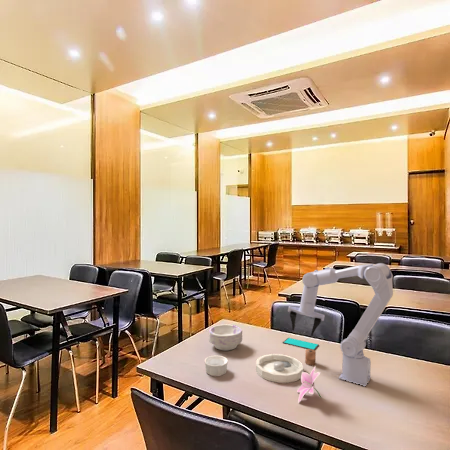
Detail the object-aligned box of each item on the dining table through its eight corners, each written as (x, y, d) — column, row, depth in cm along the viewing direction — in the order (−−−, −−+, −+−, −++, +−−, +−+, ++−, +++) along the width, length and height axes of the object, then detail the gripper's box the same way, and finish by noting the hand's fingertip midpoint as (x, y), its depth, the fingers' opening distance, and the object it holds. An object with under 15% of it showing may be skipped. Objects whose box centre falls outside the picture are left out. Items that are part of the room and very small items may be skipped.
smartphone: (288, 337, 156) (318, 344, 148) (288, 339, 156) (318, 346, 148) (282, 342, 150) (314, 349, 142) (282, 344, 150) (314, 351, 142)
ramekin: (225, 378, 117) (225, 366, 116) (201, 375, 118) (201, 364, 118) (229, 367, 125) (229, 356, 125) (207, 365, 127) (207, 354, 127)
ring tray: (309, 369, 124) (309, 362, 124) (290, 388, 110) (290, 380, 110) (269, 356, 135) (269, 350, 135) (247, 372, 121) (247, 365, 121)
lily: (304, 386, 113) (292, 364, 112) (336, 383, 107) (323, 359, 106) (297, 414, 103) (283, 390, 102) (331, 412, 97) (317, 386, 96)
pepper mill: (316, 362, 130) (317, 350, 130) (313, 366, 127) (313, 353, 127) (307, 360, 132) (307, 348, 132) (303, 363, 129) (303, 351, 129)
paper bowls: (203, 343, 149) (204, 326, 149) (233, 338, 155) (233, 322, 155) (216, 356, 135) (217, 337, 135) (248, 350, 142) (248, 332, 141)
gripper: (327, 302, 131) (321, 333, 133) (291, 293, 136) (286, 323, 137) (326, 307, 124) (320, 340, 126) (289, 298, 129) (283, 330, 131)
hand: (302, 332), depth 131 cm, fingers open, 7 cm apart
